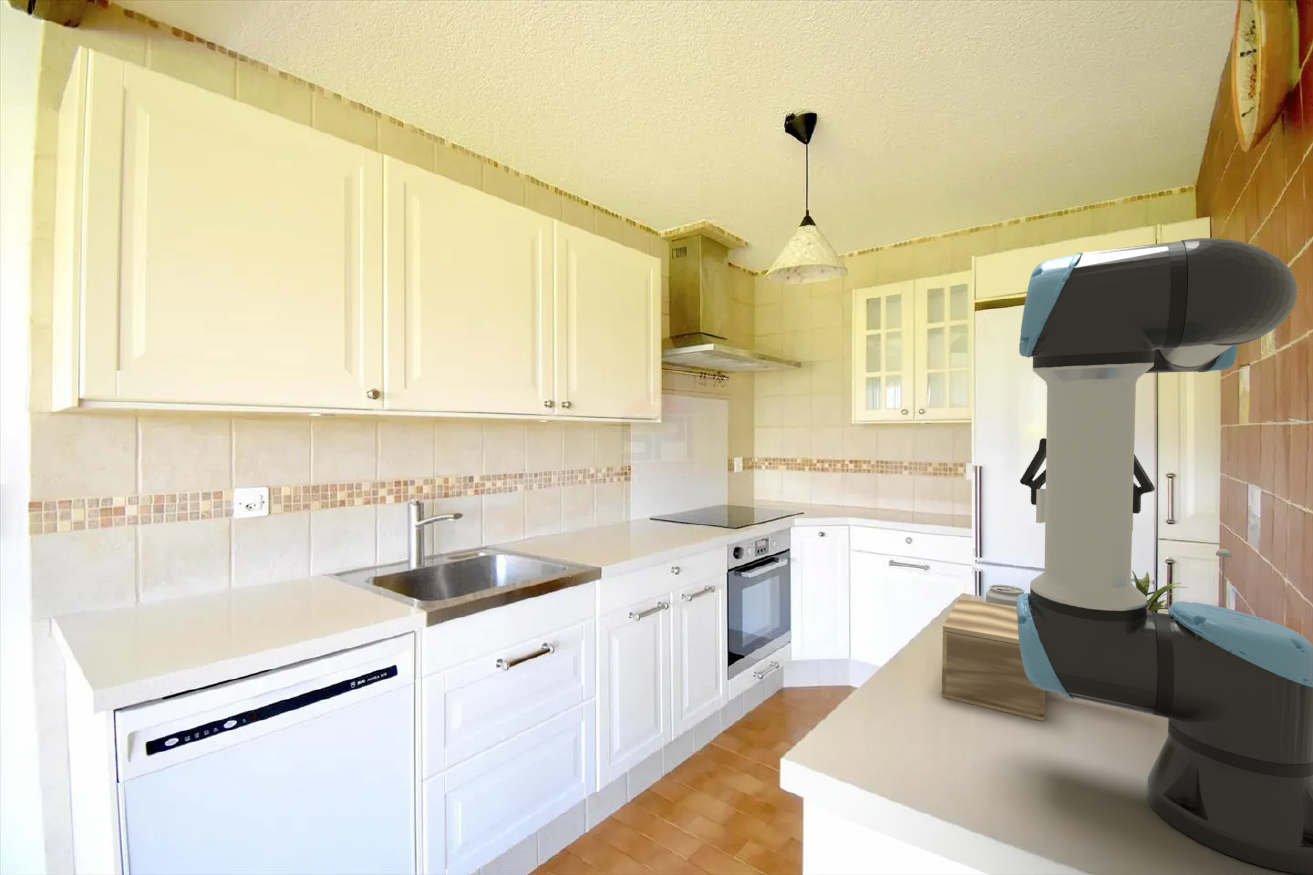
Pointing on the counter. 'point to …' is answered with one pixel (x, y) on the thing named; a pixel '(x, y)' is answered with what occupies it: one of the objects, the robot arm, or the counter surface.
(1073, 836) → the counter surface
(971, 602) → the wooden box lid
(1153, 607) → the house plant
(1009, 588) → the can
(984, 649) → the wooden box
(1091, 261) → the robot arm
